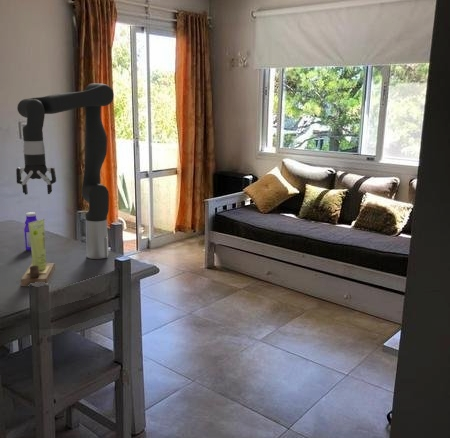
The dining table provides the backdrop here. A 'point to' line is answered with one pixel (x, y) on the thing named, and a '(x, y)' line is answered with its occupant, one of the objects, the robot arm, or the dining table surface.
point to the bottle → (29, 218)
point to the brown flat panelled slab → (38, 274)
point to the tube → (38, 243)
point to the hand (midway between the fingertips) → (37, 193)
